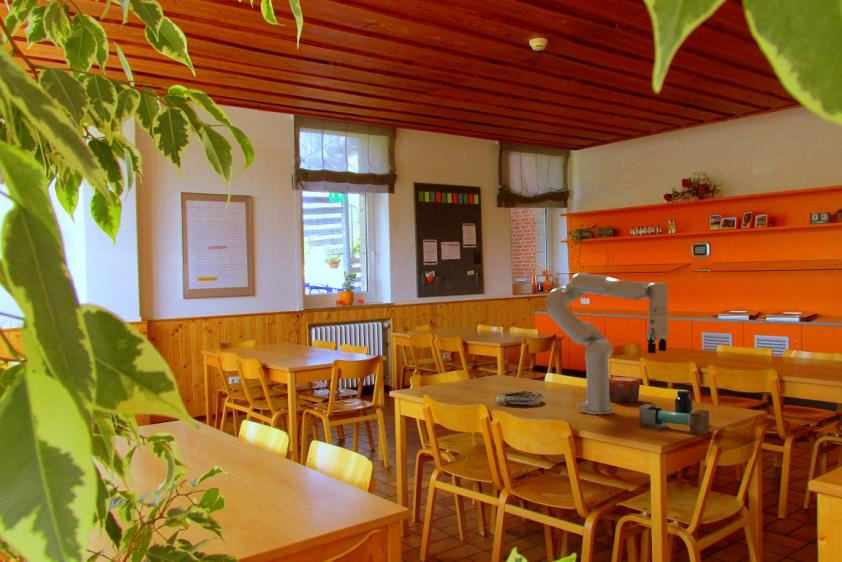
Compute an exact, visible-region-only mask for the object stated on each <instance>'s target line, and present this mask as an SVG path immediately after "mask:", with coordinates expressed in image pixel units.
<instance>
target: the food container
mask: <svg viewBox="0 0 842 562" xmlns="http://www.w3.org/2000/svg"><path fill="white" fill-rule="evenodd" d="M641 384H642V380H640V378H639V377H633V376H631V377H630V376H610V377H609V402H612V403H615V404H622V403H631V404H636V403H638V402H639V395H640V386H641Z"/></svg>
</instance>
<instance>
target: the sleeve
mask: <svg viewBox="0 0 842 562" xmlns="http://www.w3.org/2000/svg"><path fill="white" fill-rule="evenodd" d="M655 405H656V404H648V403H645V404H643V405H640V406H639V408H638V410H639V411H638V412H639V413H638V414H639V415H638V416H639V419H638V420H639V428H645V427H646V428H647V429H652V428H654V429H653V430H659V429H660V430H662V429H665V428H667V427H668V423H665V422H659V421H658V413H659V411H663V407H661V406H660V407H659V406H658V407H657V406H655ZM666 426H667V427H666ZM664 427H665V428H664Z"/></svg>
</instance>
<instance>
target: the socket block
mask: <svg viewBox="0 0 842 562" xmlns="http://www.w3.org/2000/svg"><path fill="white" fill-rule="evenodd" d="M689 431H690V432H689V434H690V435H695V436H704V435H705V434H708V433H710V411H709V410H704V409H703V410H702V409H696V410H693V412H692V413H690V427H689Z"/></svg>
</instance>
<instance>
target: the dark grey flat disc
mask: <svg viewBox="0 0 842 562" xmlns="http://www.w3.org/2000/svg"><path fill="white" fill-rule="evenodd" d="M544 397H545V396H544V395H543V394H541V393H538V392H534V391H529V390H521V391H507V392H506V391H505V392H502V393H500V394H499V395H497V397H496V399H495V402H494V403H493V404H494V406H496V407H497V406H499V405H501V406H512V407H514V406H515V407H533V406H540V405H541V403H542V401H543V400H544Z"/></svg>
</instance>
